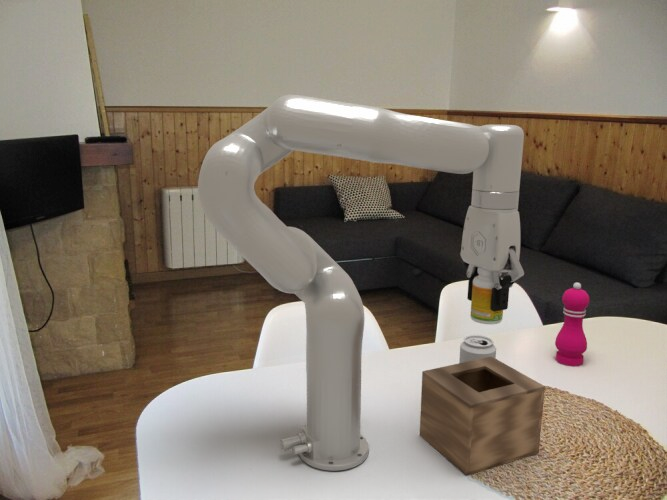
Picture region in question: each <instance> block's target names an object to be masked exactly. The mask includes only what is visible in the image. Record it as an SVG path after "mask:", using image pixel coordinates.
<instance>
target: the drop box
mask: <svg viewBox="0 0 667 500" xmlns="http://www.w3.org/2000/svg"><path fill="white" fill-rule="evenodd" d="M421 375H422V376H421V396H420V397H421V398H420V418H419V419H420V421H419V436H420V437H421V438H422V439H423V440H425V441H426V443H428V444H429V445H430V446H431V447H433V448H434V449H435V451H437V452H438V453H439V454H441V455H442V456H443V458H445V459H446V460H448V462H450V463H451V464H452V465H453V466H454V467H455V468H456V469H457V470H459V471H460V472H461V473H462V474H463V475H464V476H466V477H467V476H470V475H473V474H477V473H480V472H482V471H486V470H489V469H493V468H497V467H500V466H501V465H505V464H508V463H511V462H515V461H517V460H520V459H525V458H528V457H531V456H533V455H537V454H539V453H540V443H541V432H542V423H543V413H544V411H543V410H544V402H545V401H544V400H545V392H546V390H545V389H546V386H545V385H543V384H542V383H540V382H538V381H536V379H535V380H534V379H532V378H531V377H529V376H527V375H526V374H524V373H522V372H520V371H519V370H517V369H515V368H513V367H512V366H510V365H507V364H505V363H504V362H502V361H501V360H499V359H498V358H496V359H495V358H494V357H492V356H491V357H486V358H482V359H477V360H472V361H468V362H463V363H455V364H450V365H445V366H440V367H435V368H432V369H426V370H423V371H422V373H421Z"/></svg>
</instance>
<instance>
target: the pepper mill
mask: <svg viewBox="0 0 667 500" xmlns="http://www.w3.org/2000/svg"><path fill="white" fill-rule="evenodd" d="M561 301H562V303H563V305H564V306H563V310H562V313H563V314H564V321H563V324H562V327H561V329H560V330H559V331H558V332H557V335H556V337H555V342H554V345H555V347H556V349H557V350H556V353H555V360H556V362H558V363H559V364H561V365H564V366H570V367H578V366H582V365H583V364H584V358H585V357H584V353H585V352H586V351H587V349H588V342H587V341H588V340H587V337H586V334H585V332H584V328H583V322H584V317H585V316H586V313H587V310H586V308H587V307H588V306H589V304H590V296H589V294H588V293H587V291H586V290H584V289H582V284H581V283H580V282H574V283H573V285H572V288H568V289H566V290H565V291H564V293H563V294H562V299H561Z"/></svg>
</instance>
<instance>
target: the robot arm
mask: <svg viewBox="0 0 667 500" xmlns="http://www.w3.org/2000/svg"><path fill="white" fill-rule="evenodd" d="M524 138H525V134H524V130H523V128H522V127H520V126H519V125H515V124H499V123H498V124H483V125H481V126H480V125H474V124H471V123H464V122H459V121H453V120H452V121H451V120H446V119H445V120H444V119H438V118H437V119H436V118H431V117H425V116H420V115H413V114H408V113H402V112H398V111H394V110H390V109H387V108H383V107H377V106H371V105H366V104H360V103H352V102H346V101H338V100H333V99H326V98H320V97H315V96H308V95H300V94H286V95H282V96H280V97H278V98H277V99H276V100H275V101H274V102H273V103H272V104H270V105H268V107H266V108H265V109H264V110H263V111H261V112H259V113H258V114H257V115H256V116H254V117H253V118H251V119H250V120H249V121H247V122H246V123H244V124H243V125H241V126H240V127H238V128H237V129H235V130H233V132H231V133H230V134H228V135H227V136H225V137H224V138H221V139H220V140H218V141H216V142H215V143H214V144H213V145H212V146H211V147H210V148H209V150H208V151H207V152H206V154H205V155H204V158H203V161H202V164H201V167H200V171H199V175H198V181H197V193H198V194H197V195H198V200H199V204H200V206H201V209H202V211H203V214H204V216H205V217H206V219H207V220H208V222H209V224H211V226H212V227H213V229H215V231H217V233H218V234H219V235H220V236H221V237H222V238H224V239H225V241H227V243H228V244H230V245H231V246H232V248H233V249H235V250H236V251H237V252H238V254H239V255H240V256H242V258H243V259H244V260H246V262H247V263H248V264H249V265H250V266H251V267H253V268H254V269H255V270H256V271H257V273H259V274H260V275H261V277H262V278H264V279H265V280H266V282H267V283H268V284H269V285H271V286H272V288H274V289H275V290H278V291H279V292H282V293H286V294H294V295H296V297H298V298H299V300H301V301H302V303H304V308H305V321H306V324H305V325H306V326H305V327H306V336H305V337H306V339H305V341H306V343H305V347H306V349H305V354H306V355H305V360H306V361H305V362H306V365H305V367H306V368H305V370H306V372H305V373H306V425H304V426H301V432H299V433H296V436H293V437H287V438H281V439H280V448H281V450H282V451H288V450H292V454H293V455H294V456H296V455H299V457H300V458H301V460H302V461H303V462H304V463H306V464H307V465H309V466H310V467H312V468H314V469H318V470H323V471H331V472H336V471H346V470H349V469H352V468H355V467H357V466H359V465H360V464H362V463H364V461H365V460H366V459H367V458H368V456H369V451H370V447H369V446H370V445H369V441H368V440H367V439H366V437H364V435H362V434H361V411H362V409H361V408H362V405H361V404H362V355H363V354H362V352H363V350H362V349H363V340H364V339H363V338H364V330H365V309H364V305H363V300H362V298H361V296H360V293H359V291H358V289H357V287H356V284H354V283H355V282H354V281H353V279H352V278H351V277H350V275H349V273H347V272H346V271H345V270H344V269H343V267H342V266H340V265H339V264H338V263H337V262H336V261H335V260H334V259H333V258H332V257H331V256H330V255H329V253H327V252H326V250H324V249H323V247H321V246H320V245H319V244H318V243H317V242H316V241H315V240H314V239H313V238H312V236H310V235H309V234H307V233H306V232H305V231H304V230H302V229H300V228H297V227H295V226H287V225H286V224H285V223H284V222H283V221H282V220H281V219H279V217H278V216H277V215H276V214H275V213H274V212H273V211H272V209H271V208H269V207H268V206H267V205H266V204H265V203H263V202H262V201H261V199H260V198H259V197H258V196H257V194H256V191H255V184H256V181H257V180H258V178H259V176H260V175H261V174H263V173H264V172H266V171H267V170H268V169H270V168H272V167H273V166H274V165H277V164H278V163H279V162H280V161H281V160H282V159H284V158H286V157H288V156H289V155H290V154H291V153H293V152H294V151H297V152H303V153H310V154H316V155H317V154H318V155H324V156H333V157H339V158H344V159H345V158H346V159H350V160H351V159H353V160H358V161H365V162H370V163H375V164H376V163H377V164H388V165H389V164H390V165H391V164H392V165H399V166H404V167H405V166H406V167H409V168H417V169H424V170H430V171H438V172H444V173H451V174H458V175H459V174H461V175H464V174H466V175H467V174H470V173H473V174H472V186H471V187H472V188H471V189H472V192H471V203H470V204H471V205H469V206H468V208H467V212H466V216H465V219H464V225H463V232H462V238H461V239H462V240H461V249H460V252H459V255H460V258H461V259H462V261H463V263H464V267H465V269H466V277H467V279H468V284H467V300H469V301H470V302H471V301H472V286H473V279H474V278H475V277H476V276H478V275H479V274H478V267H479V268H481V269H484V270H487V271H490V272H493V275H494V282H495V287H496V288H492V296H491V310H492V311H500V310H503V311H506V310H507V309H508V307H509V298H510V297H509V296H510V288H512V287H513V285H514V284H515V283H516V282H517V281H518V280H519V279H520V278H521V277H524V275H525V271H524V269H523V266H522V264H521V262H520V255H521V220H520V212H519V211H518V210H519V202H520V201H519V198H520V185H521V174H522V173H521V172H522V163H523V151H524V140H525V139H524ZM501 274H503V277H502V275H501ZM501 278H502V280H501Z"/></svg>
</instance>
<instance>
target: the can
mask: <svg viewBox="0 0 667 500" xmlns="http://www.w3.org/2000/svg"><path fill="white" fill-rule="evenodd" d="M494 343H495V342H494V340H493V339H492V338H491V337H488V336H485V335H479V334H472V335H470V334H469V335H466V336H465V337H464V338H463V342H461V343H460V346H459V360H458V361H459V363H463V362H468V361H472V360H477V359H482V358H486V357H491V356H492V357H494V358H495V359H497V358H496V356H497V347H496V345H494ZM459 363H458V364H459Z"/></svg>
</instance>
